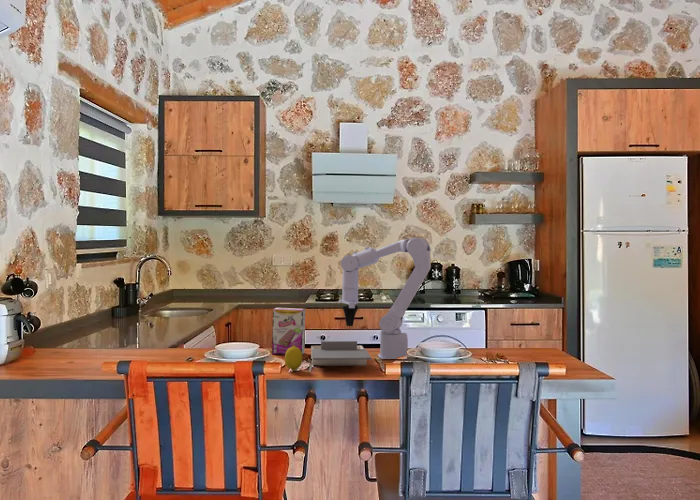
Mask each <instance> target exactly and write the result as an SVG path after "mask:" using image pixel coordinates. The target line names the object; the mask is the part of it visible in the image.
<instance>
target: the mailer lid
mask: <svg viewBox="0 0 700 500" xmlns="http://www.w3.org/2000/svg"><path fill="white" fill-rule="evenodd" d="M320 346H321V349H312V354H313V360H367V361H368V360H369V361H370V360H372V356H371V355H370V353H369V352H368V350H367V349H366V348H364V349H357V346H358V341H356V340H337V341H336V340H329V341H327V340H326V341H325V340H324V341H323V340H321V342H320Z"/></svg>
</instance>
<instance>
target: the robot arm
mask: <svg viewBox="0 0 700 500" xmlns="http://www.w3.org/2000/svg"><path fill="white" fill-rule="evenodd" d="M431 251H432V249H431V247H430V245H429V242H428V240H427V239H426V238H424V237H417V236H414V237H411V238H406V239H401V240H398V241H395V242H393V243H390V244H387V245H385V246H382V247H380V248H377V249H376V248H374V247H369V246H367V247H365V248H364V249H363V250H360V251H358V252H357V251H353V252H352V255H351V254H347V255H344V257H342V258H341V260H340V266H341V269H342V283H341V284H342V285H341V286H342V288H341V289H342V290H341V291H342V296H341V299H339V300H338V303H342V304H345V305H342V306H341V308H342V310H343V314H344V320H345V325H346V327H353V326H354V322H355V317H356V313H357V311H358V310H359V307H358V305H357V304H359V269H361V268H365V267H368V266H371V265H374V264H377V263H378V261H379V260H380V258H384V257H386V256H389V255H393V254H396V253H399V252H402V253H408V254H409V255H410V257H411V258H412V262H413V264H414V268H413V271H412V272H411V274H410V275H409V277H408V279H407V281H406V282H405V284H404V285H403V287H402V289H401V291H400V293H399V294H398V296H397V298H396V299H395V301H394V303H393V304H392V306H391V307H390V308H389V309H388V311H387V313H385V315H383V316H382V317H381V318H380V319H379V322H378V323H379V328H380V347H379V348H380V350H379V351H380V353H378V354H377V356H378V357H379V359H380V358H381V359H396V358H398V357H402V356H406V355H407V351H408V347H409V344H408V343H409V341H408V334H407V333H406V332H402V330H401V327H402V325H403V319H404V316H405V313H406V311H407V310H408V308H409V307H410V304H411V303H412V301H413V299H414V298H415V296H416V294H417V292H418V290H419V289H420V287H421V286H422V284H423V282H424V280H425V279H426V277H427V275H428V273H429V272H430V270H431V268H432V265H431V264H432V263H431V262H432V261H431V260H432V259H431ZM407 356H408V355H407ZM381 359H380V360H381Z"/></svg>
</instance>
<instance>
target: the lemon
mask: <svg viewBox="0 0 700 500" xmlns="http://www.w3.org/2000/svg"><path fill="white" fill-rule="evenodd" d="M284 363H285V365H286V366H287V367H286V368H288V369H290V370H292V372H295V371H296V370H297V369H299V368H300V367H301V365H302V364H303V355H302V352H301V350H300V349H299V348H297V347H295V346H292V347H290V348H289V349H288V350H287V351H286V354H285V356H284Z"/></svg>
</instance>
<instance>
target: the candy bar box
mask: <svg viewBox="0 0 700 500" xmlns="http://www.w3.org/2000/svg"><path fill="white" fill-rule="evenodd" d="M305 327H306V309H305V308H293V307H292V308H291V307H290V308H289V307H275V308H273V309H272V333H271V334H272V337H271V338H272V340H271V342H272V343H271V344H272V345H271V353H272V355H285V354H286V351H287V350H288V349H289V348H290V347H292V346H295V347H297V348H299V349H300V350H301V352H302V356H303V355H304V354H305V342H306V341H305V339H306V338H305V336H306V335H305V330H306V329H305Z"/></svg>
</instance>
